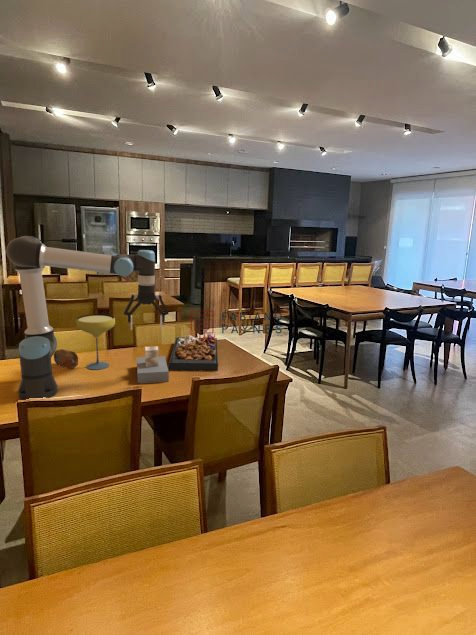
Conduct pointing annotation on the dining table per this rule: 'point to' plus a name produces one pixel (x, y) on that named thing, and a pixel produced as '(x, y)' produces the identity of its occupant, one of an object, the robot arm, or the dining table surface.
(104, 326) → the cocktail glass
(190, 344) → the food platter
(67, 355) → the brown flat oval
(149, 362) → the cream block
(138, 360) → the slate block
